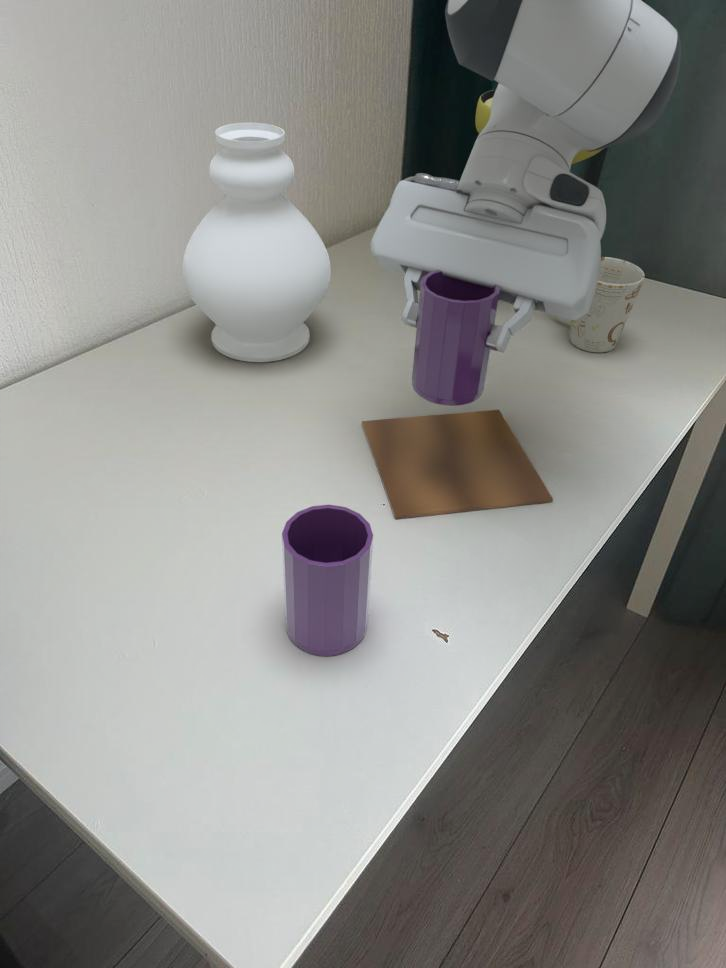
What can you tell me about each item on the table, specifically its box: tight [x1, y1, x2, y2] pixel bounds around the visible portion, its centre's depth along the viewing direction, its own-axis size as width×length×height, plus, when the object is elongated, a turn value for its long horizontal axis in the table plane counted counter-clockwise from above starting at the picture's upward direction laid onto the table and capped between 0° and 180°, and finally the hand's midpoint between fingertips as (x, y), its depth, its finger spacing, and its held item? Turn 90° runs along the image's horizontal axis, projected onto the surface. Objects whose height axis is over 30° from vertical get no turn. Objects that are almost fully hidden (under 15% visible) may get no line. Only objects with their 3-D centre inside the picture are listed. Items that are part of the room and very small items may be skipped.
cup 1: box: [281, 504, 374, 657], centre depth 60 cm, size 7×7×10 cm
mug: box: [569, 256, 645, 353], centre depth 100 cm, size 8×13×10 cm, turn 41°
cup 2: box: [411, 270, 500, 407], centre depth 68 cm, size 7×7×10 cm
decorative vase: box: [182, 121, 332, 363], centre depth 92 cm, size 18×18×25 cm
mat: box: [361, 409, 554, 520], centre depth 81 cm, size 16×16×1 cm
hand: (452, 336), depth 67 cm, fingers closed on cup 2, 6 cm apart
